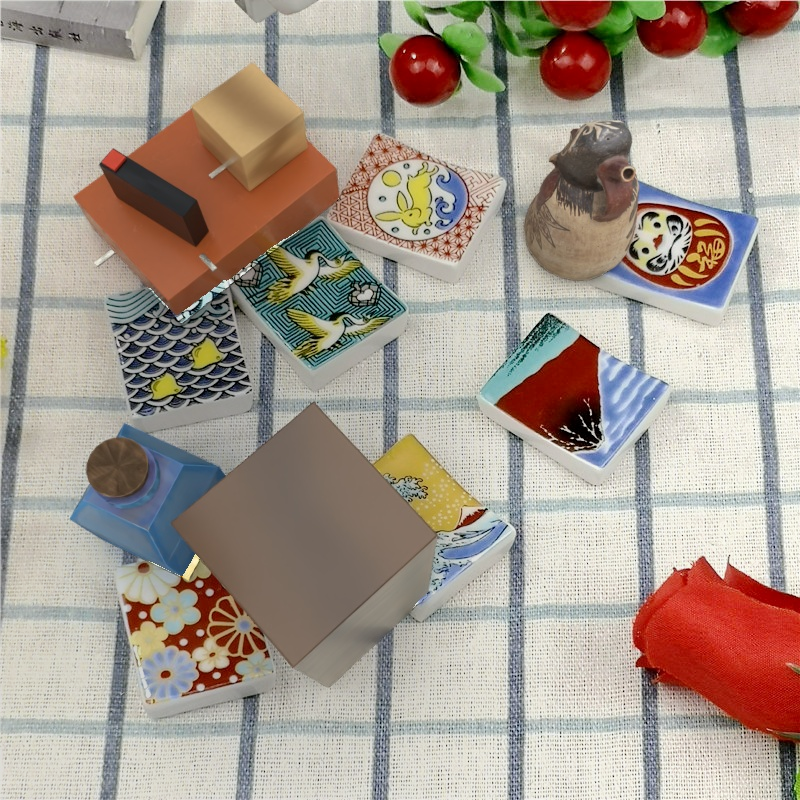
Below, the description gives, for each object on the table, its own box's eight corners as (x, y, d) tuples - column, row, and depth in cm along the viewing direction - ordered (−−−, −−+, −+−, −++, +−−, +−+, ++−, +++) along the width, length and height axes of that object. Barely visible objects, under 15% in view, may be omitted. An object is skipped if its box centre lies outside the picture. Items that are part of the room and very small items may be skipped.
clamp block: (162, 346, 66) (147, 322, 62) (65, 238, 69) (45, 208, 65) (343, 202, 70) (340, 170, 66) (244, 104, 72) (235, 67, 68)
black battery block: (209, 231, 64) (196, 197, 60) (196, 247, 64) (182, 215, 60) (129, 181, 65) (111, 145, 61) (116, 197, 65) (97, 162, 61)
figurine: (609, 179, 70) (649, 71, 59) (643, 269, 68) (691, 175, 56) (511, 203, 69) (531, 99, 58) (542, 294, 67) (570, 205, 56)
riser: (328, 688, 59) (292, 668, 40) (242, 587, 61) (169, 522, 42) (428, 596, 61) (438, 535, 42) (340, 500, 63) (313, 400, 44)
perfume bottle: (236, 491, 63) (199, 438, 52) (188, 581, 61) (140, 547, 50) (149, 451, 64) (94, 390, 53) (100, 539, 62) (33, 496, 51)
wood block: (249, 192, 65) (241, 157, 61) (201, 142, 66) (190, 105, 62) (308, 148, 66) (304, 111, 62) (259, 100, 67) (252, 61, 64)
